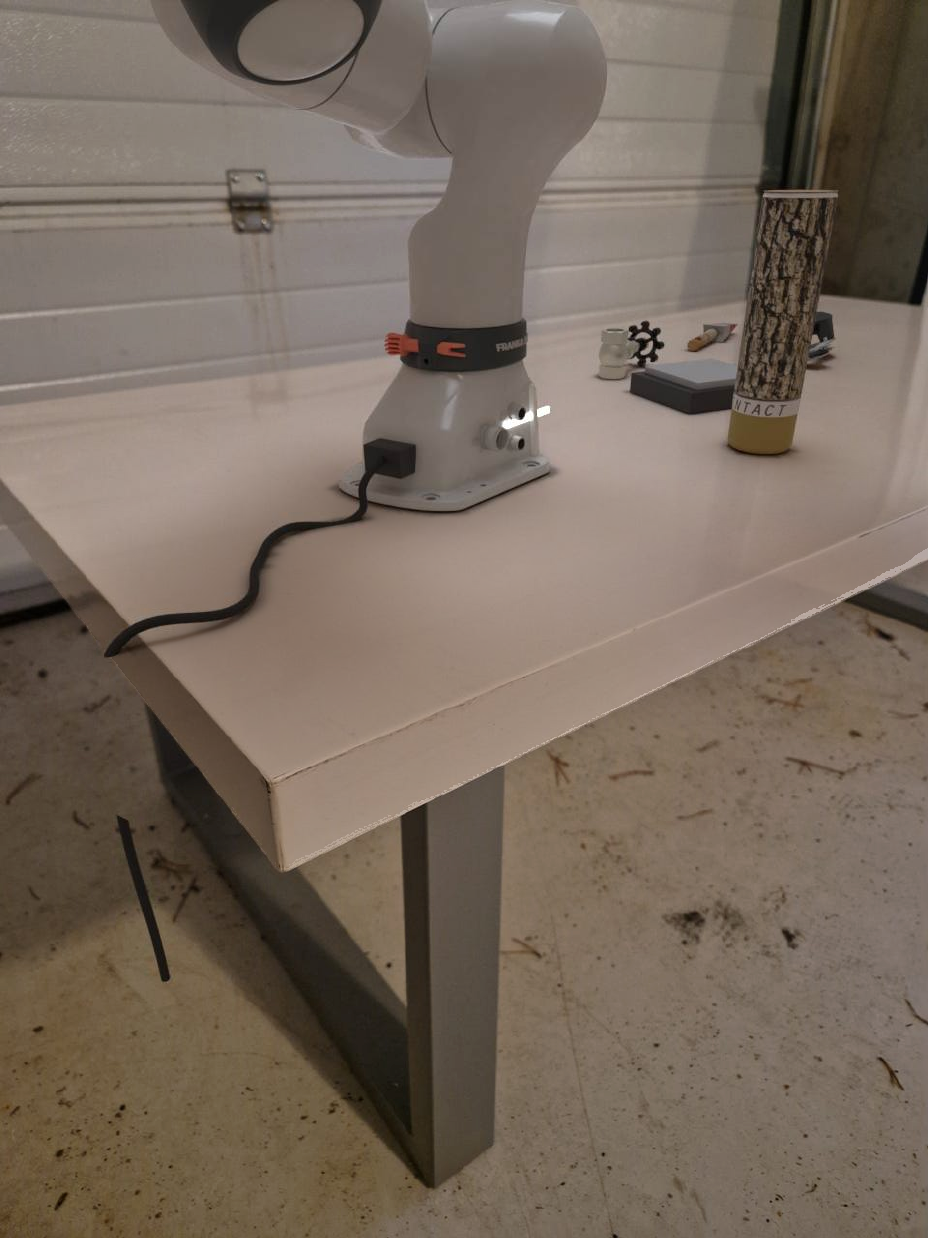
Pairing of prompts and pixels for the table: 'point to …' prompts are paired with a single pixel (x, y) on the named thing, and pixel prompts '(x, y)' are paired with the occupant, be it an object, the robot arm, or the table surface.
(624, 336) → the valve
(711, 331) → the paintbrush
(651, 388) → the scale
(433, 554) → the table surface
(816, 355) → the bicycle component
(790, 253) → the paper tube
